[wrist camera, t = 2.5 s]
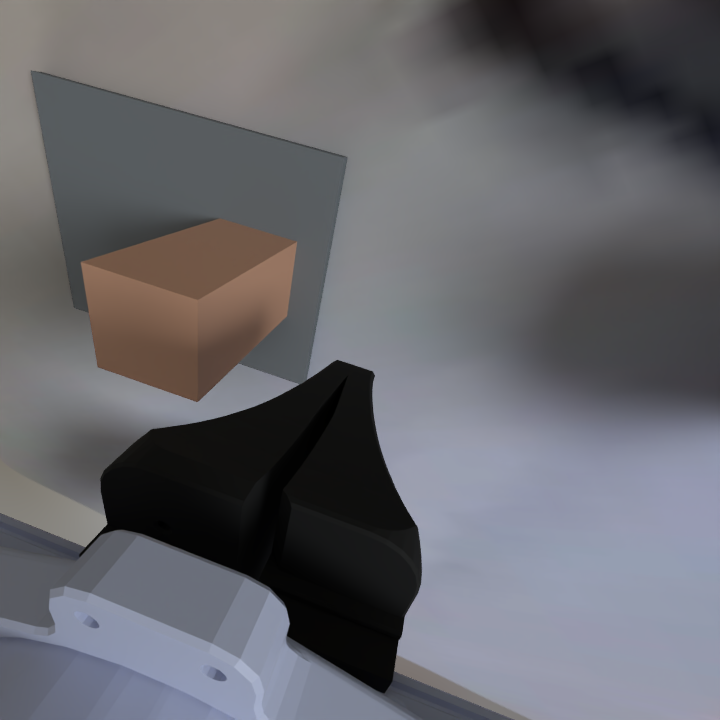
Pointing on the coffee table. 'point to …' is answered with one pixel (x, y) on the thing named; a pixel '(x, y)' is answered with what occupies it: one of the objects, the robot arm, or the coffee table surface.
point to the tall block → (188, 303)
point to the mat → (187, 193)
